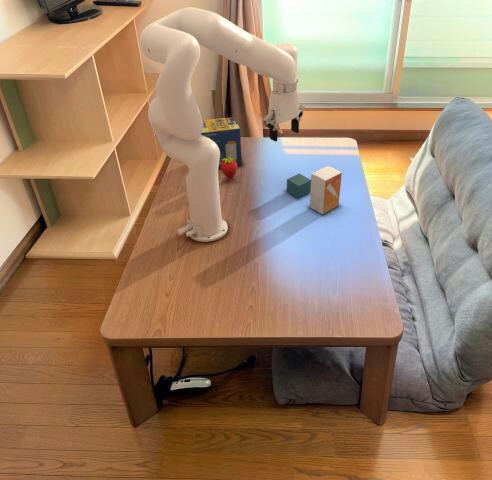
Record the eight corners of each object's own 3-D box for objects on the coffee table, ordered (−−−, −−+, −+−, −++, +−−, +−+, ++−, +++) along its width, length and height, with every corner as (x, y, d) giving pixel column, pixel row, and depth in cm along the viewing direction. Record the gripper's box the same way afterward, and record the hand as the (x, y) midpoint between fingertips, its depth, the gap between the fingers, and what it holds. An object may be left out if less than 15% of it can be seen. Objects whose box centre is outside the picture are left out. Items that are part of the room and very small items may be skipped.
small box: (323, 215, 160) (325, 180, 152) (309, 207, 164) (310, 173, 156) (339, 205, 165) (342, 172, 157) (325, 198, 168) (327, 164, 160)
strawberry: (221, 185, 174) (219, 160, 168) (222, 174, 180) (220, 150, 174) (238, 184, 175) (236, 159, 168) (238, 174, 181) (237, 149, 174)
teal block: (298, 198, 168) (298, 185, 165) (286, 191, 172) (286, 179, 168) (310, 192, 171) (311, 179, 168) (298, 185, 175) (299, 173, 172)
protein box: (197, 158, 190) (193, 121, 180) (236, 153, 193) (234, 116, 184) (202, 171, 182) (198, 133, 172) (242, 165, 186) (240, 127, 176)
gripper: (296, 76, 161) (295, 125, 172) (256, 89, 152) (257, 139, 162) (312, 82, 157) (310, 132, 167) (271, 96, 148) (272, 147, 158)
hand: (284, 135), depth 165 cm, fingers open, 9 cm apart
